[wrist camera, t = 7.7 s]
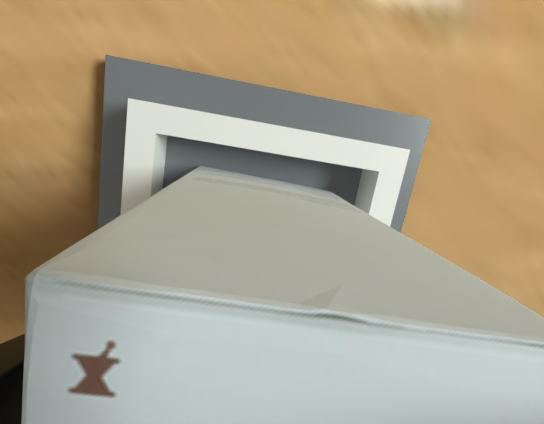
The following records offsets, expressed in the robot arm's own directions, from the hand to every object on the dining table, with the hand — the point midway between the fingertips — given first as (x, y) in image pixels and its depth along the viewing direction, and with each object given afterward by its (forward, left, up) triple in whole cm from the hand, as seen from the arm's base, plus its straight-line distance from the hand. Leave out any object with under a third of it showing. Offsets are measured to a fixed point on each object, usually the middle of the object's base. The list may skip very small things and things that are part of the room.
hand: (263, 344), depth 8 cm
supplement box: (0, 0, -8) cm, 8 cm away
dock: (0, 0, -9) cm, 9 cm away
